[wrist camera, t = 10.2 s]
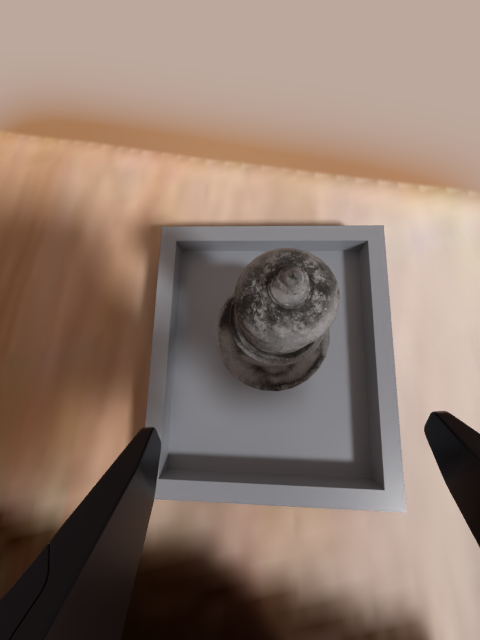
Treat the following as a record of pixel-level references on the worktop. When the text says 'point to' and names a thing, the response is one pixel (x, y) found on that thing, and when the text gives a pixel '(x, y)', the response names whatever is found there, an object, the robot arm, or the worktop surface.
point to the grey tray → (275, 406)
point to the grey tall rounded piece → (278, 320)
